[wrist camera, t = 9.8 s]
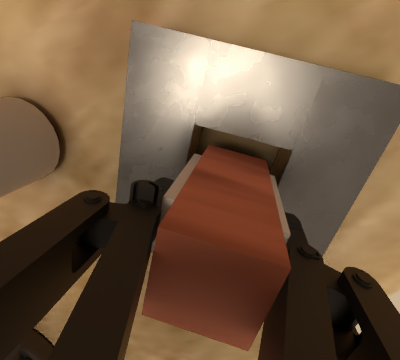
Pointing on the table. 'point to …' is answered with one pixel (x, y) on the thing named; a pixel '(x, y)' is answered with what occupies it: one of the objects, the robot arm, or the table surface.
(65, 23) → the table surface
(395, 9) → the table surface
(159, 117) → the socket block
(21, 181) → the can
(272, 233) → the peg
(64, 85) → the table surface
